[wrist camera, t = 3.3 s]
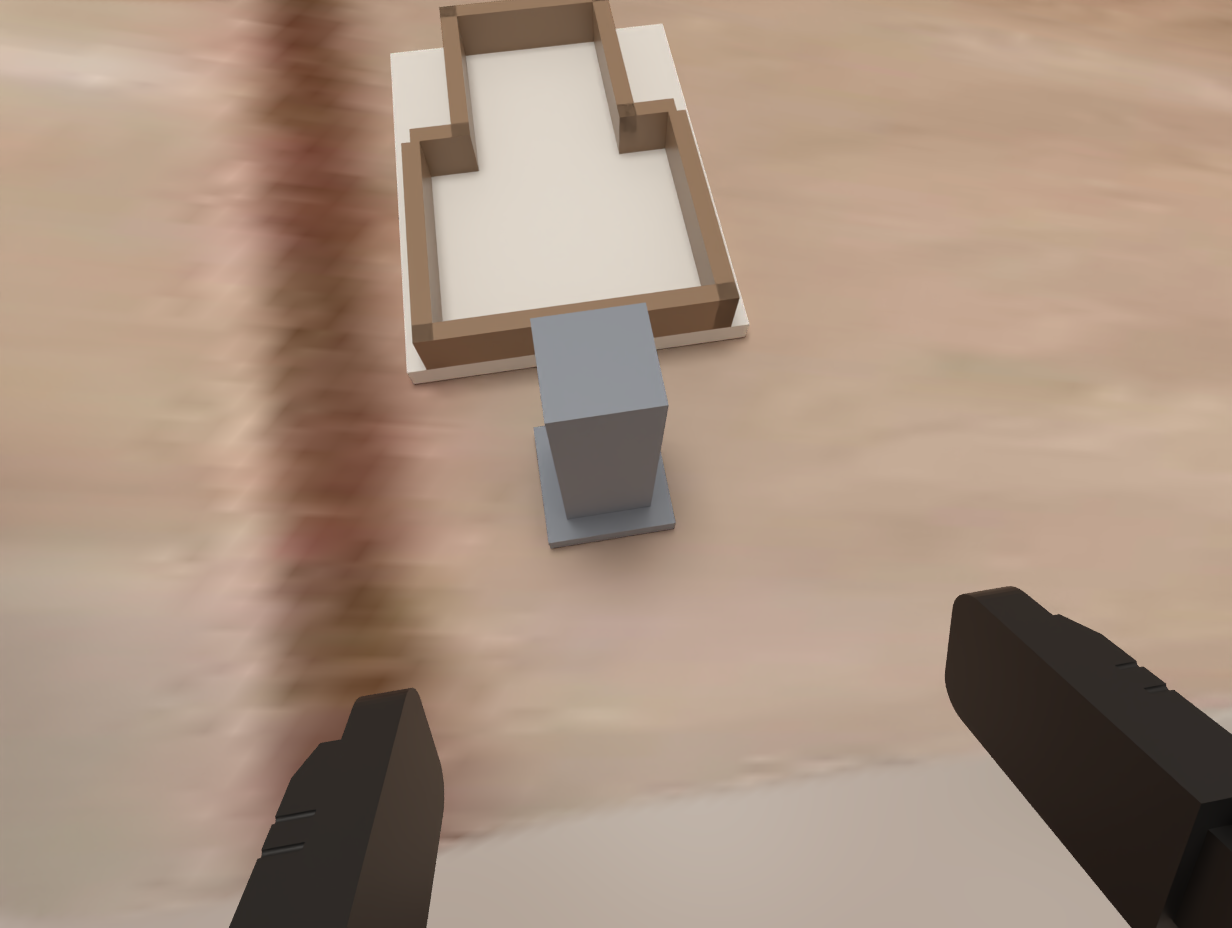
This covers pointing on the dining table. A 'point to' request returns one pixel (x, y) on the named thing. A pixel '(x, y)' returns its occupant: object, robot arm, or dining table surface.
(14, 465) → the dining table surface
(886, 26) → the dining table surface
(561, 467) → the slate keyhole peg
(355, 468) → the dining table surface
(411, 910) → the robot arm
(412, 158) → the keyhole guide board
